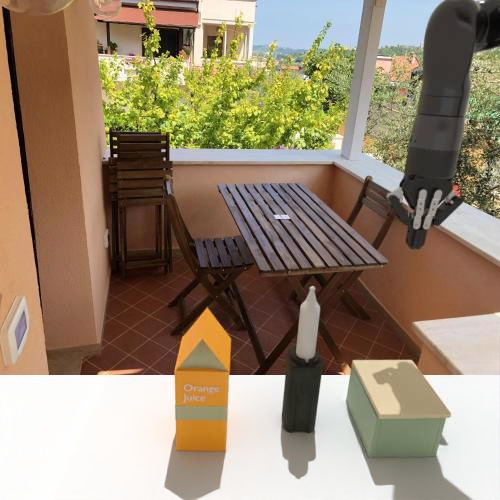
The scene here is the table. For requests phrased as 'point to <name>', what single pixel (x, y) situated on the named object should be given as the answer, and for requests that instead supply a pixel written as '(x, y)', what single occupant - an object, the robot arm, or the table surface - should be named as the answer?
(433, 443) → the chest
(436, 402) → the lid
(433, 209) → the robot arm
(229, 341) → the orange juice
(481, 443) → the table surface
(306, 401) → the candle
